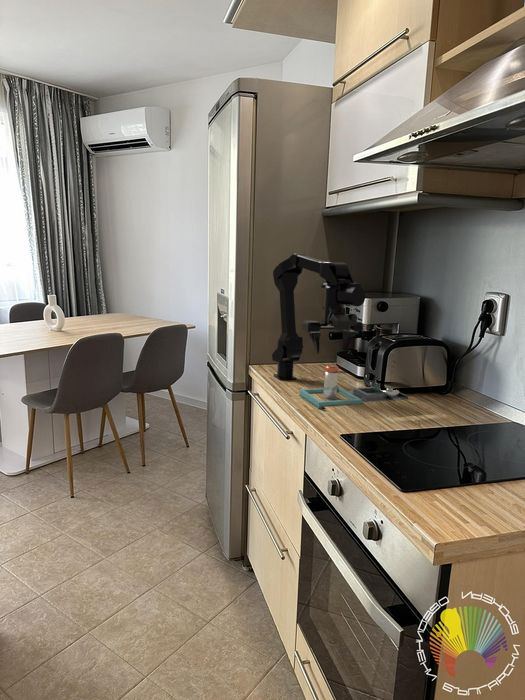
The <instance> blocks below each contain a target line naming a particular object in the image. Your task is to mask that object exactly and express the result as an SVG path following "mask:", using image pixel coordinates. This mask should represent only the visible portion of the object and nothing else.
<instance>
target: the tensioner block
mask: <svg viewBox="0 0 525 700" xmlns="http://www.w3.org/2000/svg"><path fill="white" fill-rule="evenodd" d="M385 388H386V390H381V388H378V387H376V386H370V387H369V386H367V387H353V389H352V390H346V391H347V392H349V393H351V394H352V395H354V396H356V397H358V398H360V399H361V400H362V403H370V402H371V403H372V402H384V401H385V402H386V401H387V402H389V401H403V400H406V401H407V400H409V395H407V394H405V393H402V392H400V391H399V390H398V389H396V390H393V389H394V388H392V387H385ZM379 389H380V390H379Z"/></svg>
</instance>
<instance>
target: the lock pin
mask: <svg viewBox="0 0 525 700" xmlns="http://www.w3.org/2000/svg"><path fill="white" fill-rule="evenodd" d="M338 381H339V366H338V365H334V364H333V365H332V364H331V365H330V364H329V365H325V367H324V379H323V388H324V392H322V393H323V395H322V397H323V399H325V400H327V401H335V400H337V393H338V392H337V387H338Z"/></svg>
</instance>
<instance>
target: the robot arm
mask: <svg viewBox="0 0 525 700" xmlns="http://www.w3.org/2000/svg"><path fill="white" fill-rule="evenodd" d="M304 269H305V270H307V271H311V272H314V273H317V274H318V275H319V276H320V278H321V279H323V280H324V281H325V282H323V284H321V285H320V287H321V288H322V289H325V291H324V292H325V293H324V305H323V306H322V310H323V311H324V312H323V318H322V319H321V322H319V321H317V320H303V321H302V324H301V330H302V331H304V332H305V333H306V334H308V335H309V337H310V340H311V342H312V344H313V347H314V350H315V353H316V355H319V354H320V348H321V347H320V342H321V341H320V338H321V335H322V332H320V330H336V331H338V332H339V331H342V353H343V354H346V353H347V351H348V348H349V347H350V343H351V342H352V340H353V338H354V337H355V336H356V335H359V334H360V332H364V324H363V322H362V321H359V320H358V315H357V314H356V313H349V314H346V307H344V306H352V307H357V308H358V307H361V306H362V305H363V304H364V303H365V300H366V293H365V292H366V291H365V290H364V289H363V288H362V283H361V282H360V283H359V282H355V280H354V278H353V276H352V274H351V271H350V270H349V265H348V264H347V263H346V262H331V261H325V260H322V259H318V258H316V257H313V256H308V255H306V254H305V253H294V254H291V255H290V256H289V257H288V258H287V259H285V260H283V261H282V262H279V263H278V265H276V267H275V268H274V270H273V272H272V276H273V282H274V285H275V287H276V289H277V290H278V291H279V302H280V303H279V306H280V320H281V324H280V325H281V333H280V336H279V338H278V340H277V347H276V349H275V350H274V351H273V352H272V354H271V359H272V361H273V362H275V363H276V362H277V368H276V369H277V370H276V373H275V374H273V377H275V378H277V379H278V380H281V381H284V380H285V381H286V380H297V377H296V376H295V375H294V366H295V365H294V364H295V363H294V362H299V361H300V359H301V356H302V354H303V349H304V343H303V340H304V339H303V336H299V334H298V333H297V325H296V324H297V323H296V307H295V289H296V287H297V285H298V282H299V276H301V275H302V274H303V271H304Z"/></svg>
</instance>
